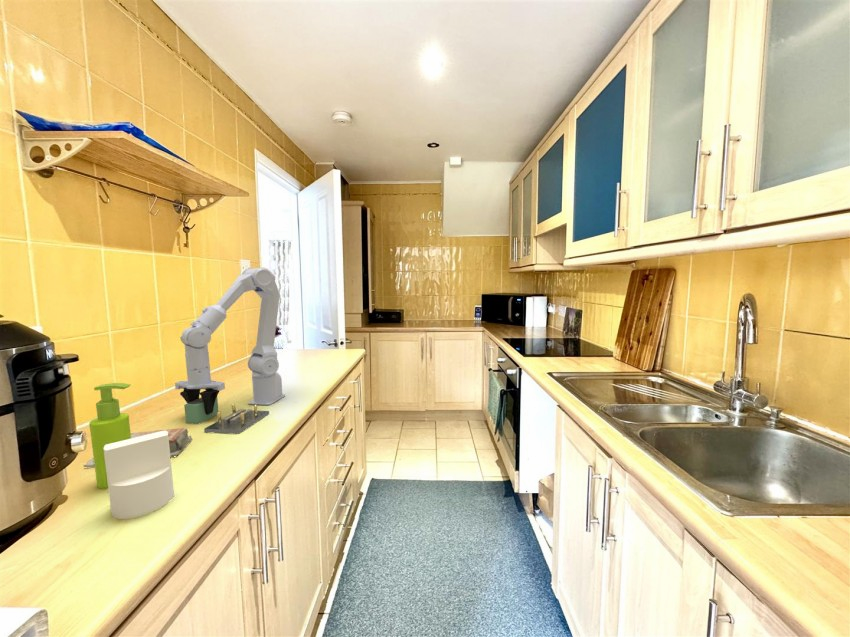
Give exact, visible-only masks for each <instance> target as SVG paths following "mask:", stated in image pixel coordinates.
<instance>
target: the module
mask: <svg viewBox="0 0 850 637" xmlns="http://www.w3.org/2000/svg"><path fill="white" fill-rule="evenodd" d="M218 401H219V400H218V396H217V397H216V400H215V404H214V408H213V412H212V413H210V414H208V415H206V413H205V408H204V402H203V399H202V397H201V396H200V397H199V399H196V400H194V401H192V402H189V403H187V402H186V403H185V404H184V415H185V424H186V423H193V424H192V425H200V424H201V422H202V423H204V422H206V421H207V420H209V419H211V418H213V417H215V416H217V415H216V414H217V412H218V411H219V402H218ZM214 415H215V416H214ZM203 421H204V422H203ZM199 423H200V424H199Z"/></svg>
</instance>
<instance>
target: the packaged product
mask: <svg viewBox="0 0 850 637" xmlns="http://www.w3.org/2000/svg"><path fill="white" fill-rule="evenodd" d="M164 430H165V431H167V432H168V438H169V448H170V457H174V456H177V455H178V454H179V453H180V452H181V451H182V450H183V449H184V448H185V449H186V447H187V446H188V445H189V444H190V443H191V442H192V441H193V437H192V436H191V435H189V434H188V433H189V431H188V428H187V427H185V428H184V427H183V428H172V429H161V430H151V431H140V432H132V433H131V432H130V433H131V438H135V437H140V436H144V435H148V434H152V433H156V432H160V431H164ZM191 440H192V441H191ZM190 441H191V442H190ZM189 442H190V443H189ZM188 443H189V444H188ZM187 444H188V445H187ZM186 445H187V446H186ZM185 449H184V450H185ZM184 450H183V451H184ZM183 451H182V452H183ZM182 452H181V453H182ZM181 453H180V454H181ZM180 454H179V455H180ZM179 455H178V456H179ZM178 456H177V457H178ZM174 458H175V457H174ZM84 467H94V468H95V464H94V457H92V458H91V459H90V460H89V461H87V462H86V464H83V468H84Z"/></svg>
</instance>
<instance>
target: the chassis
mask: <svg viewBox="0 0 850 637" xmlns="http://www.w3.org/2000/svg"><path fill="white" fill-rule="evenodd" d="M268 414H269V415H270V411H269V410H259V409H258V405H257V404H253V409H251V408H249V409H246V408H242V409H238V410H236V404H235V403H232V404H231V413H230V414H228V415H226V416H225V417H223V418H222V411H219V410H218V412H217V415H216V417H217V418H216V419H217V421H216V422H214V423H212V424H211V425H209V426H207V427H204V429H203V430H204V433H207V432H214V433H213V434H228V433H235V434H234V435H239V434H240V432H241V433H243V432H244V431H246V430H247V429H249V428H250V427H252V426H254V425H255V424H256V423H258V422H260V421H261V420H263V419H264V418H266V417H267V416H268ZM265 416H266V417H265ZM257 421H258V422H257ZM254 423H255V424H254ZM251 425H252V426H251ZM248 427H249V428H248ZM246 428H247V429H246ZM245 429H246V430H245ZM243 430H244V431H243ZM237 433H238V434H237Z"/></svg>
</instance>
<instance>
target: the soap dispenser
mask: <svg viewBox="0 0 850 637" xmlns="http://www.w3.org/2000/svg"><path fill="white" fill-rule="evenodd" d="M130 386H131V384H129V383H122V382H114V383H112V382H111V383H106V384H105V383H103V384H100V385H97V386H95V387H93V390H94V391H100V392H99V393H100V400H99V401H98V402H96V404H95V408H96V418H94V419H92V420H91V421H89V423H88V424H89V431H90V439H91V440H90V441H91V446H92V447H91V448H92V455H93V458H94V464H95V467H94V471H95V478H96V479H95V481H96V487H97V488H98V489H102V490H106V489H108V481H107V473H106V465H105V456H104V446H105V445H107V444H111V443H115V442H119V441H123V440H127V439H131V427H130V418H129V413H124V412H123V413H121V410H120V402H119V399H118V398H115V397H113V390H112V389H114V390H117V389H118V390H125V389H127V388H129V387H130ZM108 490H109V489H108Z"/></svg>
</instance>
